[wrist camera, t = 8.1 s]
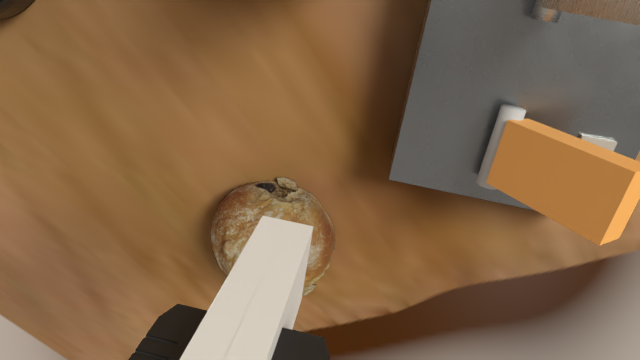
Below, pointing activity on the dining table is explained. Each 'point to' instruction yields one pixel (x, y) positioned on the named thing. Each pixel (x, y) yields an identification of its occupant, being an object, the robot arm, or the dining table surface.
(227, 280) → the robot arm
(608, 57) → the panel
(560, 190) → the orange and white block
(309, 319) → the dining table surface
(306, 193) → the bread roll
